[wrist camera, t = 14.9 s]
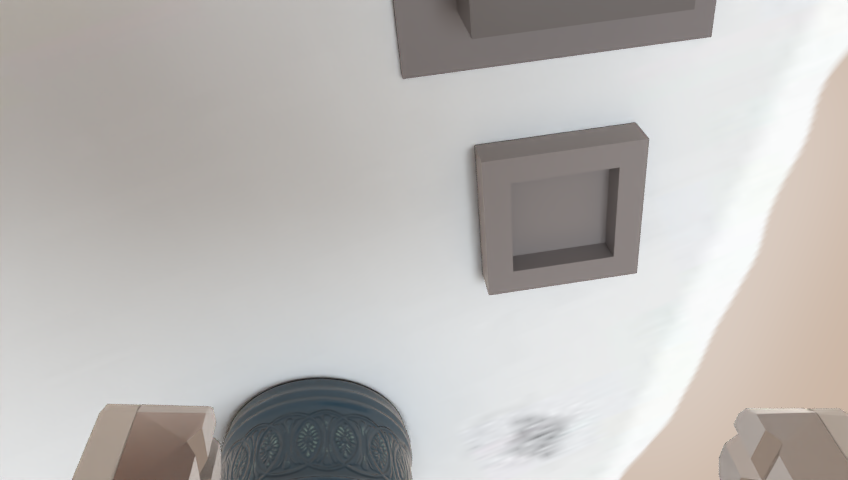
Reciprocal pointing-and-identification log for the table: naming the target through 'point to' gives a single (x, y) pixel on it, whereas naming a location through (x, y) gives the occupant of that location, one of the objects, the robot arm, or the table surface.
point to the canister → (317, 435)
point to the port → (536, 30)
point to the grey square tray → (561, 207)
